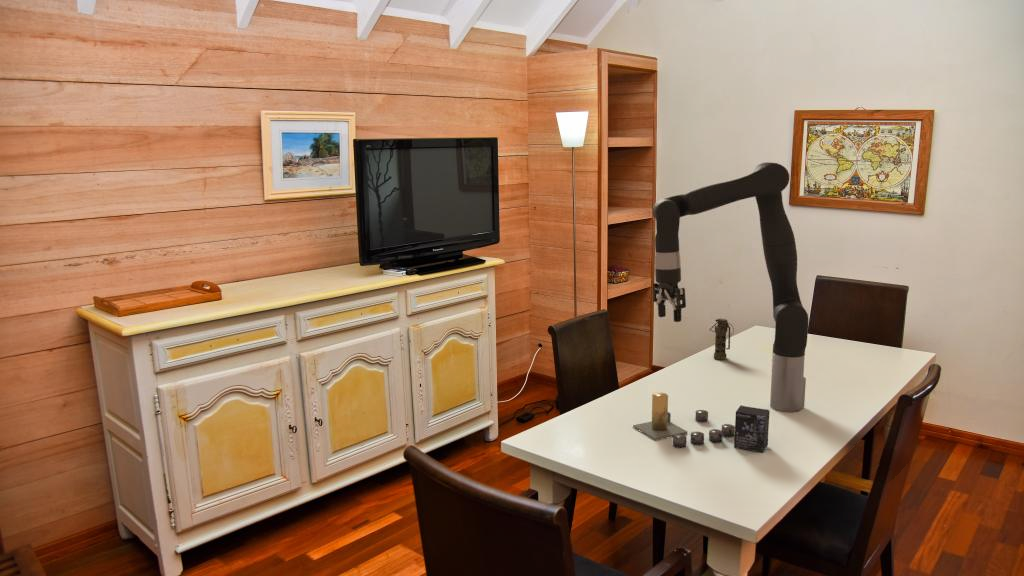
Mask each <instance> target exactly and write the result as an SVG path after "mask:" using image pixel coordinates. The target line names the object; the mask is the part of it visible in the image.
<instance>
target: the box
mask: <svg viewBox="0 0 1024 576" xmlns="http://www.w3.org/2000/svg"><path fill="white" fill-rule="evenodd" d="M770 411H771V410H770V409H764V408H759V407H751V406H747V405H739V407H738V408H737V410H736V411H735V421H734V424H735V425H734V426H735V436H734V443H733V447H734V448H735V449H740V450H741V449H742V450H747V451H752V452H758V453H761V454H764V453H765V451H766V449H767V447H768V445H769V444H768V443H769V427H770Z"/></svg>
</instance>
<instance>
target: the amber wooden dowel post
mask: <svg viewBox="0 0 1024 576" xmlns="http://www.w3.org/2000/svg"><path fill="white" fill-rule="evenodd" d="M651 396H652V398H651V401H652V402H651V421H652V429H653V430H655V431H665V430H667V418H668V412H669V411H668V410H669V407H668V405H669V395H668V394H667V393H665V392H654V393H652V395H651Z"/></svg>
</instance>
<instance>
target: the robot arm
mask: <svg viewBox="0 0 1024 576" xmlns="http://www.w3.org/2000/svg"><path fill="white" fill-rule="evenodd" d="M789 183H790V173H789V171H788V169H787V168H786V167H785V165H782V164H780V163H778V162H768V161H767V162H762V163H760V164H758V165H757V166H756V167H755V168H754V169H753V171H752V172H751V173H750V174H748V175H746V176H742V177H739V178H736V179H732V180H729V181H728V180H727V181H724V182H720V183H714V184H710V185H705V186H702V187H700V188H696V189H693V190H690V191H688V192H685V193H682V194H678V195H673V196H670V197H665V198H662V199H658V201H656V202H655V203H654V205H653V207H652V215H653V218H654V219H655V223H656V226H655V228H656V234H655V236H654V248H655V250H654V251H655V254H654V271H655V273H654V275H655V277H654V278H655V282H653V284H652V301H653V302H654V303H655V304H656V306H657V316H658V317H659V318H665V317H666V315H667V312H666V302H667V301H668V302H669V304H670V305H671V306H672V308H673V322H675V323H679V322H681V321H682V310H683V309H685V308H686V306H687V303H686V289H685V287H679V283H680V282H681V281H682V269H681V268H682V266H681V265H682V264H681V263H682V262H681V254H680V239H679V231H680V223H681V222H680V219H681V218H682V217H685V216H695V215H698V214H702V213H705V212H708V211H711V210H714V209H716V208H720V207H723V206H726V205H730V204H733V203H736V202H738V201H741V200H742V201H743V200H746V199H750V198H755V201H756V204H757V209H758V213H759V214H758V215H759V225H760V233H761V234H760V235H761V242H762V243H761V245H762V249H763V255H764V256H763V257H764V260H765V266H766V270H767V274H768V277H769V281H770V283H771V284H770V285H771V291H772V309H773V310H772V312H773V313H772V315H773V316H772V317H773V320H774V322H775V328H774V330H775V331H774V342H773V344H772V359H771V361H772V362H771V376H770V377H771V383H770V402H769V404H770V405H769V406H770V408H772V409H773V410H776V411H779V412H785V413H786V412H787V413H788V412H791V413H793V412H799V411H801V410H802V408H805V401H806V383H807V379H806V377H805V376H804V375H805V374H804V373H805V356H806V349H807V348H806V347H807V344H808V334H809V315H808V312H807V310H806V309H805V307H804V306H803V303H802V301H801V297H800V293H799V288H798V282H797V281H798V279H797V277H798V275H797V274H798V273H797V272H798V252H797V251H798V250H797V245H796V238H795V234H794V231H793V227H792V226H791V223H790V220H789V218H788V216H787V214H786V211H785V210H786V209H785V207H784V203H783V193H782V192H783V191H784V190H785V189H786V188H787V186H788V184H789Z"/></svg>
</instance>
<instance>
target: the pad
mask: <svg viewBox="0 0 1024 576" xmlns="http://www.w3.org/2000/svg"><path fill="white" fill-rule="evenodd" d="M632 427H633V428H634V427H635V428H636V429H635V428H634V429H635V430H637V429H638V430H637V431H639V430H640V431H642V432H643V433H642V432H641V433H642V434H643V435H645V434H646V435H645V436H647V435H648V436H649V438H650V437H651V438H650V439H652V440H653V439H654V440H653V441H658V440H657V439H659V440H662V439H661V438H664V439H668V438H667V437H669V438H673V436H674V435H677V434H681V435H685V434H686V435H687V434H688V430H685V429H684V428H682V427H680V426H678V425H676V424H675V423H674V422H671V421H670V422H667V430H665V431H655V430H653V429H652V420H651V421H647V422H641V423H638V424H637V423H636V424H633V425H632ZM640 431H639V432H640ZM648 436H647V437H648Z"/></svg>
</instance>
